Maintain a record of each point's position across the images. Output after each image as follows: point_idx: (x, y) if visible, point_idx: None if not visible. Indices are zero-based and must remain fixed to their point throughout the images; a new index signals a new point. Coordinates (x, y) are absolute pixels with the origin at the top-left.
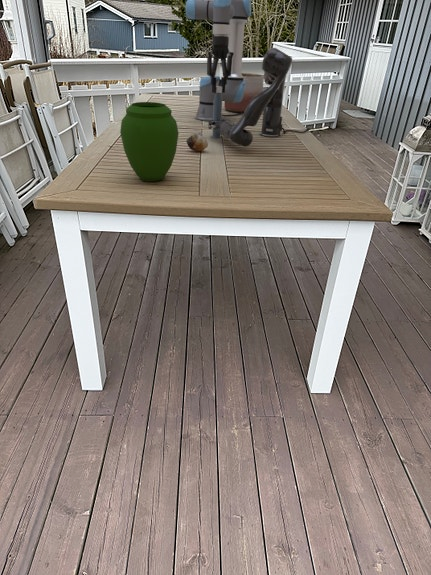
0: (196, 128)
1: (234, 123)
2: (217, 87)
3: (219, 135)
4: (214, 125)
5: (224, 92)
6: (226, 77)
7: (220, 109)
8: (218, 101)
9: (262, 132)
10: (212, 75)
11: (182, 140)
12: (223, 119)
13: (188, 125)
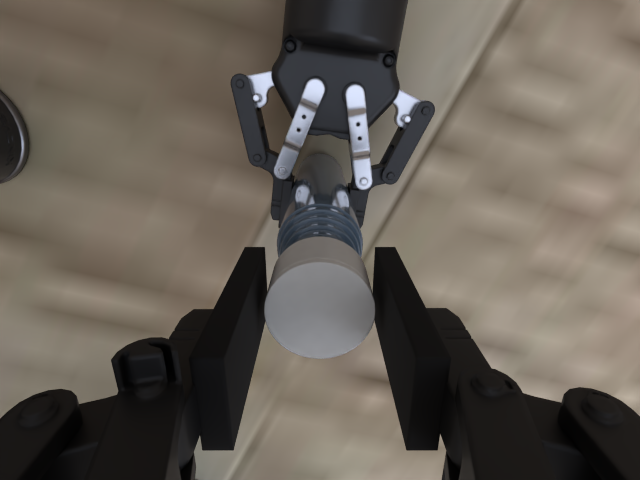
0: (324, 374)
1: (234, 76)
2: (358, 275)
3: (311, 156)
4: (398, 88)
5: (248, 248)
6: (167, 354)
7: (309, 187)
8: (334, 206)
9: (14, 136)
10: (518, 407)
11: (538, 157)
12: (362, 18)
13: (331, 432)
